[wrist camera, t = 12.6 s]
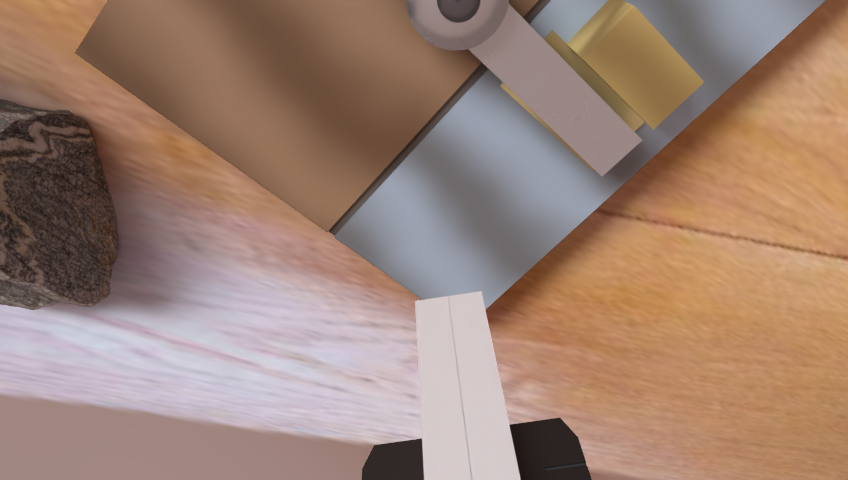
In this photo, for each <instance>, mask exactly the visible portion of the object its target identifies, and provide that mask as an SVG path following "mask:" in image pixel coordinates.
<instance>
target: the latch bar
mask: <svg viewBox="0 0 848 480" xmlns="http://www.w3.org/2000/svg"><path fill="white" fill-rule="evenodd" d="M406 7H407V11H408V15H409V18H410V20H411V22H412V24H413V26H414V28H415V29H416V31H417V32H418V33H419V34H420V35H421V36H422V37H423V38H424V39H425V40H426V41H428V42H429V43H431V44H432V45H434V46H436V47H439V48H442V49H445V50H452V51H459V50H466V49H469V50H470V51H471V52H472V53H473V54H474V55H475V56H476V57H477V58H478V59H479V60H480V61H481V62H482V63H483V64H484V65H485V66H486V67H487V68H488V69H490V70H491V71H492V72H493V73H494V74H495V75H496V76H497V77H498V78H499V79H500V80H501V81H502V82H503V83H504V84H505V85H506V86H507V87H508V88H509V89H510V90H512V91H513V92H514V93H515V94H516V95H517V96H518V97H519V98H520V99H521V100H522V101H523V102H524V103H525V104H526V105H527V106H528V107H529V108H530V109H531V110H533V111H534V112H535V113H536V114H537V115H538V116H539V117H540V118H541V119H542V120H543V121H544V122H545V123H546V124H547V125H548V126H549V127H550V128H551V129H552V130H553V131H555V132H556V133H557V134H558V135H559V136H560V137H561V138H562V139H563V140H564V141H565V142H566V143H567V144H568V145H569V146H570V147H571V148H572V149H573V150H574V151H576V152H577V153H578V154H579V155H580V156H581V157H582V158H583V159H584V160H585V161H586V162H587V163H588V164H589V165H590V166H591V167H592V168H593V169H594V170H595V171H596V172H598V173H599V174H600V175H601V176H603V175H605V174H606V173H607V172H608V171H609V170H610V169H611V168H612V167H613V166H614V165H616V164H617V163H618V162H619V161H620V160H621V159H622V158H623V157H624V156H626V155H627V154H628V153H629V152H630V151H631V150H632V149H633V148H634V147H636V146H637V145H638V144H639V143H640V142H641V141H642V139H641V138H640V137H639V136H638V135H637V134H636V133H635V132H634V131H633V130H632V129H631V128H630V127H629V126H628V125H627V124H626V123H625V122H624V121H623V119H622V118H621V117H620V116H619V115H618V114H617V113H616V112H615V111H614V110H613V109H612V108H611V107H610V106H609V105H608V104H607V103H606V102H605V101H604V100H603V99H602V98H601V97H600V96H599V95H598V94H597V93H596V92H595V91H594V90H593V89H592V88H591V87H590V86H589V85H588V84H587V83H586V82H585V81H584V80H583V79H582V78H581V77H580V76H579V75H578V74H577V73H576V71H575V70H574V69H573V68H572V67H571V66H570V65H569V64H568V63H567V62H566V61H565V60H564V59H563V58H562V57H561V56H560V55H559V54H558V53H557V52H556V51H555V50H554V49H553V48H552V47H551V46H550V45H549V44H548V43H547V42H546V41H545V40H544V39H543V38H542V37H541V36H540V35H539V34H538V33H537V32H536V31H535V30H534V29H533V28H532V27H531V26H530V25H529V23H528V22H527V21H526V20H525V19H524V18H523V17H522V16H521V15H520V14H519V13H518V12H517V11H516V10H515V9H514V8H513V7H512V6H511V5H510V4H509V0H406Z"/></svg>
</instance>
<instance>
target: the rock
mask: <svg viewBox="0 0 848 480" xmlns="http://www.w3.org/2000/svg"><path fill="white" fill-rule="evenodd" d="M117 254H118V237H117V234H116V216H115V210H114V206H113V202H112V199H111V195H110V193H109V192H108V186H107V183H106V180H105V177H104V175H103V171H102V164H101V162H100V159H99V157H98V154H97V148H96V145H95V141H94V139H93V137H92V135H91V133H90V131H89V128H88V125H87V123H86V122H85V121H83V120H82V119H80V118H78V117H76V116H74V115H73V114H72V113H71V112H70V111H66V110H55V111H50V110H40V109H35V108H29V107H24V106H21V105H18V104H16V103H13V102H10V101H6V100H1V99H0V304H2V305H8V306H15V307H22V308H26V309H30V310H35V309H39V308H41V307H43V306H47V307H48V306H51V305H54V304H56V303H58V302H60V301H62V302H66V303H73V304H76V305H79V306H84V307H91V306H94V305H95V304H97V303H98V302H100V301H101V300H102V299H104V298H106V297H107V296H108V295H109V294H110V286H109V284H110V279H111V272H112V266H113V264H114V262H115V260H116V258H117Z"/></svg>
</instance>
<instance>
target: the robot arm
mask: <svg viewBox="0 0 848 480" xmlns="http://www.w3.org/2000/svg"><path fill="white" fill-rule="evenodd" d="M415 309H416V329H417V349H418V368H419V388H420V408H421V428H422V439H416V440H409V441H401V442H394V443H387V444H380V445H374V447H373V449H372V451H371V453H370V455H369V457H368V459H367V461H366V463H365V465H364V467H363V469H362V480H591V476H590V473H589V470H588V467H587V466H586V461H585V458H584V455H583V452H582V449H581V445H580V442H579V439H578V437H577V436H576V435H575V434H574V433H573V431H572V430H571V429H570V428H569V427H568V426H567V425H566V424H565V423H564V422H563V421H562V419H561V418H555V419H548V420H541V421H533V422H526V423H519V424H512V425H509V421H508V416H507V411H506V406H505V402H504V397H503V392H502V387H501V382H500V378H499V373H498V368H497V363H496V358H495V354H494V349H493V344H492V339H491V334H490V330H489V325H488V320H487V315H486V310H485V306H484V301H483V296H482V291H479V292H472V293H465V294H459V295H452V296H445V297H438V298H432V299H425V300H418V301H415Z"/></svg>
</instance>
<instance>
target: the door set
mask: <svg viewBox="0 0 848 480" xmlns="http://www.w3.org/2000/svg"><path fill="white" fill-rule="evenodd" d="M824 1H826V0H509V4H510V5H511V6H512V7H513V8H514V9H515V10H516V11H517V12H518V13H519V14H520V15H521V16H522V17H523V18H524V19H525V20H526V21H527V22H528V23H529V25H530V26H531V27H532V28H533V29H534V30H535V31H536V32H537V33H538V34H539V35H540V36H541V37H542V38H543V39H544V40H545V41H546V42H547V43H548V44H549V45H550V46H551V47H552V48H553V49H554V50H555V51H556V52H557V53H558V54H559V55H560V56H561V57H562V58H563V59H564V60H565V61H566V62H567V63H568V64H569V65H570V66H571V67H572V68H573V69H574V70H575V71H576V73H577V74H578V75H579V76H580V77H581V78H582V79H583V80H584V81H585V82H586V83H587V84H588V85H589V86H590V87H591V88H592V89H593V90H594V91H595V92H596V93H597V94H598V95H599V96H600V97H601V98H602V99H603V100H604V101H605V102H606V103H607V104H608V105H609V106H610V107H611V108H612V109H613V110H614V111H615V112H616V113H617V114H618V115H619V116H620V117H621V118H622V119H623V121H624V122H625V123H626V124H627V125H628V126H629V127H630V128H631V129H632V130H633V131H634V132H635V133H636V134H637V135H638V136H639V137H640V138H641V139H642V141H641V142H640V143H639V144H638V145H637V146H636V147H634V148H633V149H632V150H631V151H630V152H629V153H628V154H627V155H626V156H624V157H623V158H622V159H621V160H620V161H619V162H618V163H617V164H616V165H614V166H613V167H612V168H611V169H610V170H609V171H608V172H607V173H606V174H605V175H603V176H601V175H600V174H599V173H598V172H596V171H595V170H594V169H593V168H592V167H591V166H590V165H589V164H588V163H587V162H586V161H585V160H584V159H583V158H582V157H581V156H580V155H579V154H578V153H577V152H576V151H574V150H573V149H572V148H571V147H570V146H569V145H568V144H567V143H566V142H565V141H564V140H563V139H562V138H561V137H560V136H559V135H558V134H557V133H556V132H555V131H553V130H552V129H551V128H550V127H549V126H548V125H547V124H546V123H545V122H544V121H543V120H542V119H541V118H540V117H539V116H538V115H537V114H536V113H535V112H534V111H533V110H531V109H530V108H529V107H528V106H527V105H526V104H525V103H524V102H523V101H522V100H521V99H520V98H519V97H518V96H517V95H516V94H515V93H514V92H513V91H512V90H510V89H509V88H508V87H507V86H506V85H505V84H504V83H503V82H502V81H501V80H500V79H499V78H498V77H497V76H496V75H495V74H494V73H493V72H492V71H491V70H490V69H488V68H487V67H486V66H485V65H484V64H483V63H482V62H481V61H480V60H479V59H478V58H477V57H476V56H475V55H474V54H473V53H472V52H471V51H470V50H469V49H466V50H459V51H452V50H445V49H442V48H439V47H436V46H434V45H432V44H431V43H429V42H428V41H426V40H425V39H424V38H423V37H422V36H421V35H420V34H419V33H418V32H417V31H416V29H415V28H414V26H413V24H412V22H411V20H410V18H409V15H408V11H407V7H406V0H108V1H107V3H106V4H105V6H104V8H103V9H102V11H101V12H100V14H99V15H98V17H97V19H96V20H95V22H94V23H93V25H92V27H91V28H90V30H89V31H88V33H87V34H86V36H85V38H84V39H83V41H82V42H81V44H80V46H79V47H78V49H77V50H76V52H75V53H76V54H77V55H78V56H80V57H81V58H83V59H84V60H85V61H87V62H88V63H90V64H91V65H92V66H94V67H95V68H97V69H98V70H99V71H101V72H102V73H104V74H105V75H107V76H108V77H109V78H111V79H112V80H114V81H115V82H116V83H118V84H119V85H121V86H122V87H123V88H125V89H126V90H128V91H129V92H130V93H132V94H133V95H135V96H136V97H137V98H139V99H140V100H142V101H143V102H145V103H146V104H147V105H149V106H150V107H152V108H153V109H154V110H156V111H157V112H159V113H160V114H161V115H163V116H164V117H166V118H167V119H168V120H170V121H171V122H173V123H174V124H176V125H177V126H178V127H180V128H181V129H183V130H184V131H185V132H187V133H188V134H190V135H191V136H192V137H194V138H195V139H197V140H198V141H199V142H201V143H202V144H204V145H205V146H207V147H208V148H209V149H211V150H212V151H214V152H215V153H216V154H218V155H219V156H221V157H222V158H223V159H225V160H226V161H228V162H229V163H230V164H232V165H233V166H235V167H236V168H238V169H239V170H240V171H242V172H243V173H245V174H246V175H247V176H249V177H250V178H252V179H253V180H254V181H256V182H257V183H259V184H260V185H261V186H263V187H264V188H266V189H267V190H269V191H270V192H271V193H273V194H274V195H276V196H277V197H278V198H280V199H281V200H283V201H284V202H285V203H287V204H288V205H290V206H291V207H292V208H294V209H295V210H297V211H298V212H300V213H301V214H302V215H304V216H305V217H307V218H308V219H309V220H311V221H312V222H314V223H315V224H316V225H318V226H319V227H321V228H322V229H323V230H325V231H326V232H328V231H329V232H330V233H332V234H333V235H335V236H334V237H335V238H336V239H338V240H339V241H340V242H342V243H343V244H345V245H346V246H347V247H349V248H350V249H352V250H353V251H354V252H356V253H357V254H359V255H360V256H362V257H363V258H364V259H366V260H367V261H369V262H370V263H371V264H373V265H374V266H376V267H377V268H378V269H380V270H381V271H383V272H384V273H385V274H387V275H388V276H390V277H391V278H393V279H394V280H395V281H397V282H398V283H400V284H401V285H402V286H404V287H405V288H407V289H408V290H409V291H411V292H412V293H414V294H415V295H416V296H418V297H419V298H421V299H422V300H425V299H432V298H438V297H445V296H452V295H459V294H465V293H472V292H479V291H482V296H483V301H484V306H485V310H486V309H487V308H488V307H489V306H490V305H491V304H492V303H493V302H494V301H496V300H497V299H498V298H499V297H500V296H501V295H502V294H503V293H504V292H505V291H507V290H508V289H509V288H510V287H511V286H512V285H513V284H514V283H515V282H516V281H518V280H519V279H520V278H521V277H522V276H523V275H524V274H525V273H526V272H527V271H529V270H530V269H531V268H532V267H533V266H534V265H535V264H536V263H537V262H538V261H540V260H541V259H542V258H543V257H544V256H545V255H546V254H547V253H548V252H549V251H551V250H552V249H553V248H554V247H555V246H556V245H557V244H558V243H559V242H560V241H562V240H563V239H564V238H565V237H566V236H567V235H568V234H569V233H570V232H571V231H573V230H574V229H575V228H576V227H577V226H578V225H579V224H580V223H581V222H582V221H584V220H585V219H586V218H587V217H588V216H589V215H590V214H591V213H592V212H593V211H595V210H596V209H597V208H598V207H599V206H600V205H601V204H602V203H603V202H604V201H606V200H607V199H608V198H609V197H610V196H611V195H612V194H613V193H614V192H615V191H617V190H618V189H619V188H620V187H621V186H622V185H623V184H624V183H625V182H626V181H628V180H629V179H630V178H631V177H632V176H633V175H634V174H635V173H636V172H637V171H639V170H640V169H641V168H642V167H643V166H644V165H645V164H646V163H647V162H648V161H650V160H651V159H652V158H653V157H654V156H655V155H656V154H657V153H658V152H659V151H661V150H662V149H663V148H664V147H665V146H666V145H667V144H668V143H669V142H670V141H672V140H673V139H674V138H675V137H676V136H677V135H678V134H679V133H680V132H681V131H683V130H684V129H685V128H686V127H687V126H688V125H689V124H690V123H691V122H692V121H694V120H695V119H696V118H697V117H698V116H699V115H700V114H701V113H702V112H703V111H705V110H706V109H707V108H708V107H709V106H710V105H711V104H712V103H713V102H714V101H716V100H717V99H718V98H719V97H720V96H721V95H722V94H723V93H724V92H725V91H727V90H728V89H729V88H730V87H731V86H732V85H733V84H734V83H735V82H736V81H738V80H739V79H740V78H741V77H742V76H743V75H744V74H745V73H746V72H747V71H749V70H750V69H751V68H752V67H753V66H754V65H755V64H756V63H757V62H758V61H760V60H761V59H762V58H763V57H764V56H765V55H766V54H767V53H768V52H769V51H771V50H772V49H773V48H774V47H775V46H776V45H777V44H778V43H779V42H780V41H782V40H783V39H784V38H785V37H786V36H787V35H788V34H789V33H790V32H791V31H793V30H794V29H795V28H796V27H797V26H798V25H799V24H800V23H801V22H802V21H804V20H805V19H806V18H807V17H808V16H809V15H810V14H811V13H812V12H813V11H815V10H816V9H817V8H818V7H819V6H820V5H821V4H822V3H823V2H824Z"/></svg>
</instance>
